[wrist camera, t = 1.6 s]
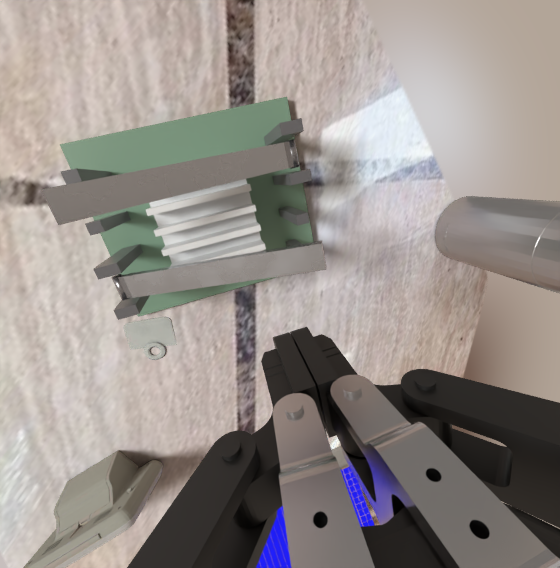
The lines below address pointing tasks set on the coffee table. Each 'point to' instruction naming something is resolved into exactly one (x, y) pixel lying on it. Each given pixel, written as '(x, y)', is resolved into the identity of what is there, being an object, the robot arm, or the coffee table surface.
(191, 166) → the strap
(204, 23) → the coffee table surface
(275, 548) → the blue ribbed slab
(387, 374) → the coffee table surface
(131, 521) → the digital clock
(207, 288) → the heatsink board
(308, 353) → the robot arm
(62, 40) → the coffee table surface
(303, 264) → the strap
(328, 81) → the coffee table surface
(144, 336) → the key tag
